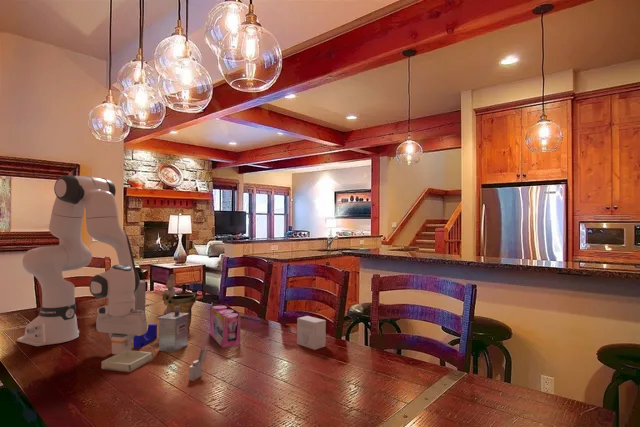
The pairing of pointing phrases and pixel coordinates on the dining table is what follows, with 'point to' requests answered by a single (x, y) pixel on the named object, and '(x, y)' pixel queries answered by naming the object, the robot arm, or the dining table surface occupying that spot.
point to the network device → (140, 297)
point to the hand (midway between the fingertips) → (121, 345)
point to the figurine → (169, 291)
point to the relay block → (119, 343)
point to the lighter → (197, 366)
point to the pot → (181, 303)
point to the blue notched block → (146, 336)
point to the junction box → (173, 331)
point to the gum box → (225, 325)
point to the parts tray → (127, 360)
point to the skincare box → (311, 332)
